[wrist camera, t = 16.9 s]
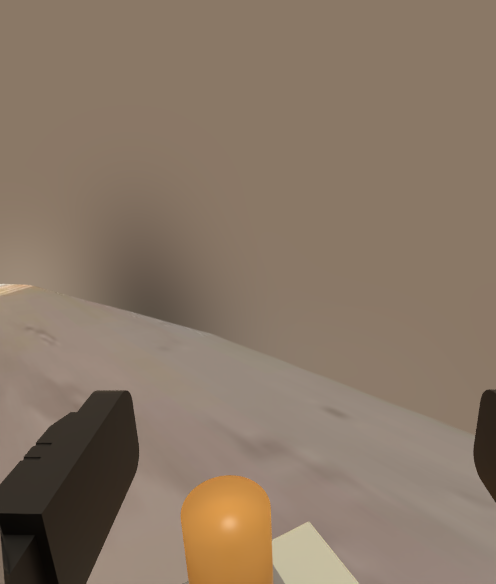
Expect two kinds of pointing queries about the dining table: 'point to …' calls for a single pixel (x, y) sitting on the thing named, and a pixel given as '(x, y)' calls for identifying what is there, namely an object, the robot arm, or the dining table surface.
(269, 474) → the dining table surface
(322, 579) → the cream slab
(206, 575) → the orange cylinder
